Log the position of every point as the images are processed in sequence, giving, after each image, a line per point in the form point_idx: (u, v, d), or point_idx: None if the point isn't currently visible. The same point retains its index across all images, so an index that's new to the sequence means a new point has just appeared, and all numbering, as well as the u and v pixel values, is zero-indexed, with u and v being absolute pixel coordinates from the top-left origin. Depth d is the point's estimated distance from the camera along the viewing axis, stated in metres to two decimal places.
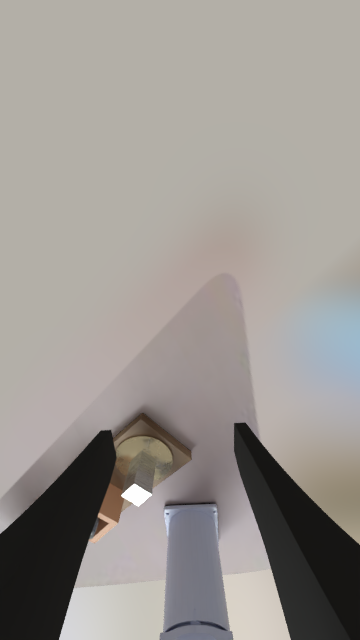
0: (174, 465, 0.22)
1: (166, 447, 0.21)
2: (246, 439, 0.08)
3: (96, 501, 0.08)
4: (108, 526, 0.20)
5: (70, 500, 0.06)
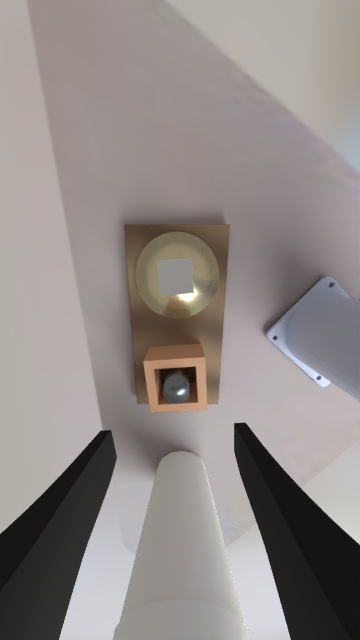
0: (218, 254, 0.15)
1: (184, 233, 0.14)
2: (246, 439, 0.08)
3: (95, 501, 0.08)
4: (198, 370, 0.14)
5: (70, 500, 0.06)
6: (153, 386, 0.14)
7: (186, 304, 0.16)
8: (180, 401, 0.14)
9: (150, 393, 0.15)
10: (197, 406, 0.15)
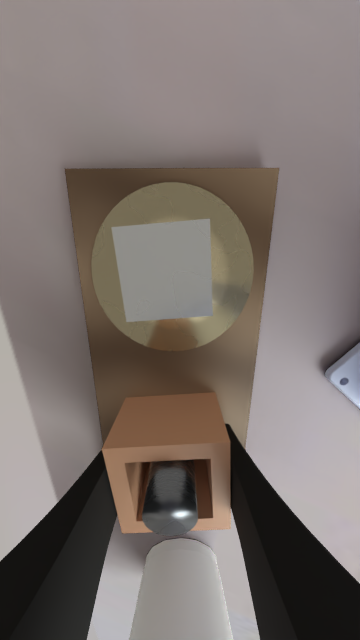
0: (252, 231, 0.07)
1: (186, 186, 0.07)
2: None
3: None
4: (215, 466, 0.07)
5: (94, 499, 0.06)
6: (126, 493, 0.07)
7: (190, 326, 0.08)
8: (178, 532, 0.07)
9: (120, 503, 0.07)
10: (211, 524, 0.08)
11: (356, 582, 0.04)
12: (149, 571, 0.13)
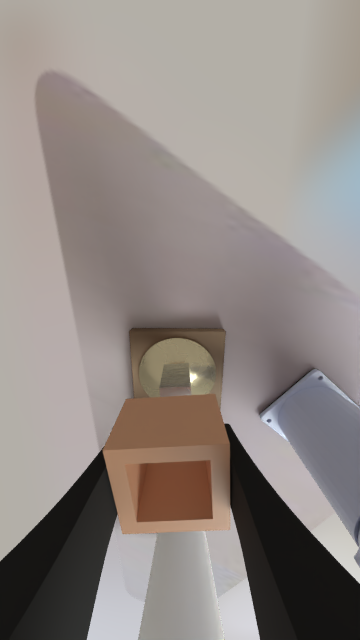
0: (215, 355, 0.16)
1: (184, 339, 0.15)
2: None
3: None
4: (215, 467, 0.07)
5: (94, 499, 0.06)
6: (127, 493, 0.07)
7: None
8: None
9: (120, 504, 0.08)
10: (211, 524, 0.08)
11: (356, 582, 0.04)
12: None
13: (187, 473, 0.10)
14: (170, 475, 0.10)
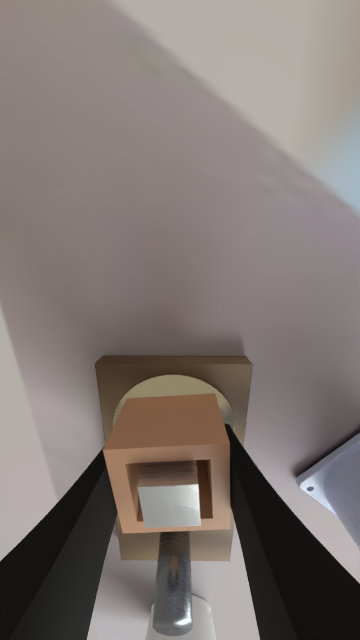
0: (234, 400, 0.10)
1: (184, 377, 0.09)
2: None
3: None
4: (215, 467, 0.07)
5: (94, 499, 0.06)
6: (127, 493, 0.07)
7: None
8: (179, 634, 0.09)
9: (120, 503, 0.08)
10: (211, 524, 0.08)
11: (356, 582, 0.04)
12: None
13: None
14: None
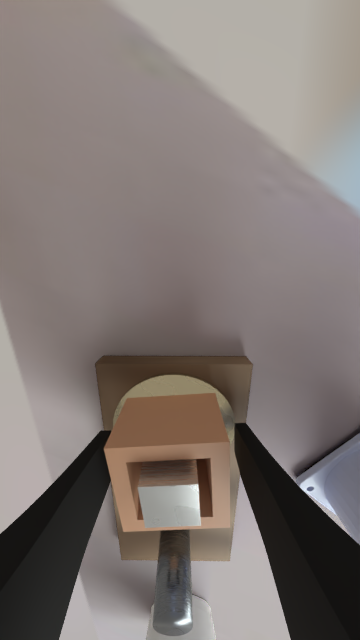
0: (234, 400, 0.10)
1: (184, 377, 0.09)
2: (246, 439, 0.08)
3: (95, 501, 0.08)
4: (215, 465, 0.07)
5: (70, 500, 0.06)
6: (127, 492, 0.07)
7: None
8: (179, 634, 0.09)
9: (121, 502, 0.08)
10: (211, 522, 0.08)
11: None
12: None
13: None
14: None
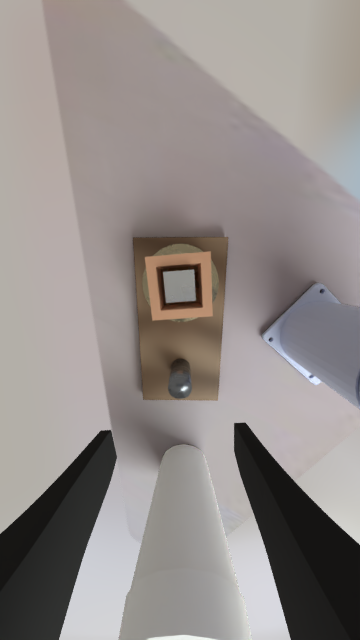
0: (217, 264, 0.16)
1: (187, 245, 0.16)
2: (246, 439, 0.08)
3: (95, 501, 0.08)
4: (203, 268, 0.13)
5: (70, 500, 0.06)
6: (156, 288, 0.14)
7: None
8: (183, 396, 0.15)
9: (152, 296, 0.14)
10: (202, 312, 0.14)
11: None
12: (165, 459, 0.22)
13: (188, 305, 0.16)
14: (178, 306, 0.16)
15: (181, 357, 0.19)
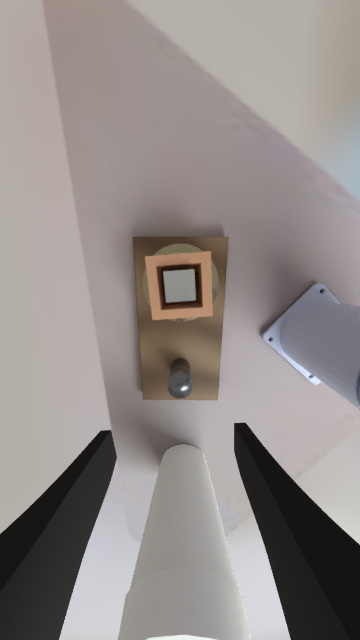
0: (218, 263, 0.16)
1: (187, 245, 0.16)
2: (246, 439, 0.08)
3: (96, 501, 0.08)
4: (203, 268, 0.13)
5: (70, 500, 0.06)
6: (156, 288, 0.14)
7: None
8: (183, 396, 0.15)
9: (152, 296, 0.14)
10: (202, 312, 0.14)
11: None
12: (164, 459, 0.22)
13: (188, 304, 0.16)
14: (178, 305, 0.16)
15: (181, 357, 0.19)
